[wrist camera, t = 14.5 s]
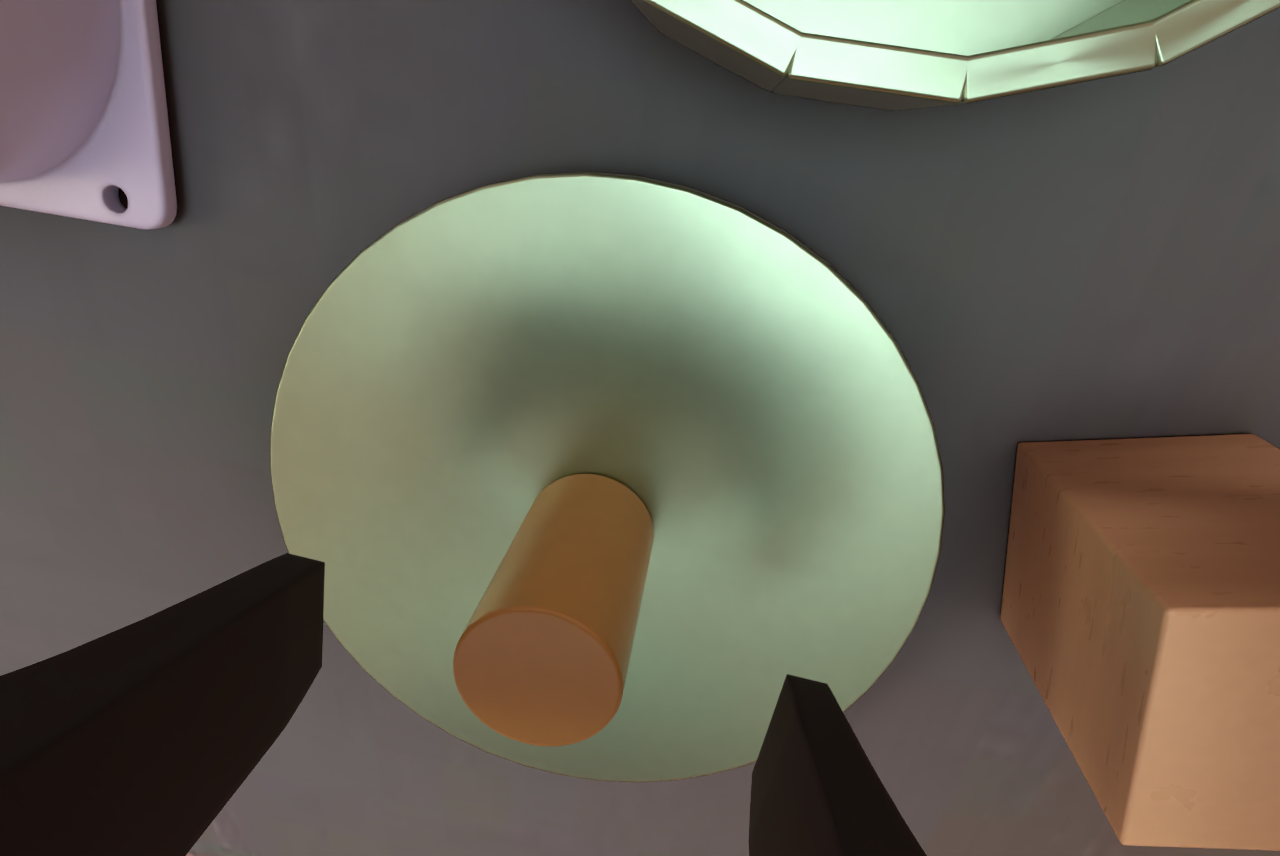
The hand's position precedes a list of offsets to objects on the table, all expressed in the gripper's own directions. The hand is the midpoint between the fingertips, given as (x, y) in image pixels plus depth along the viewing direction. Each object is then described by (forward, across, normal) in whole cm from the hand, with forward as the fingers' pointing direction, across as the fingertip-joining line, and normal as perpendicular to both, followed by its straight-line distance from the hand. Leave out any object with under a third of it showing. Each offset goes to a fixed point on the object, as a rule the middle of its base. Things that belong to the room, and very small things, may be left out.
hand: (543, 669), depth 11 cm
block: (+5, -10, -2) cm, 12 cm away
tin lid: (+5, 0, 0) cm, 5 cm away
